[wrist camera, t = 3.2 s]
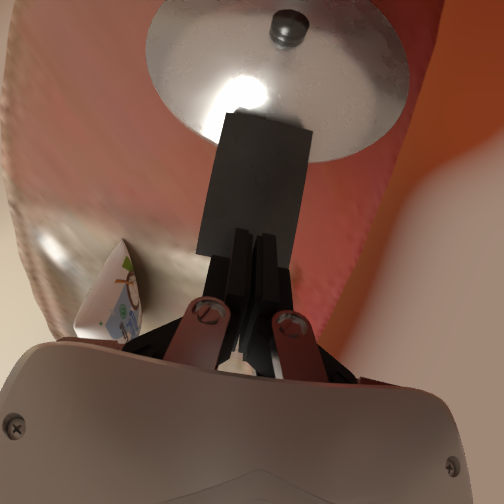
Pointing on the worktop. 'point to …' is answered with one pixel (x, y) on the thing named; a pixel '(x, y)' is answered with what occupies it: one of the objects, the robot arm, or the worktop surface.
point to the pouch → (112, 302)
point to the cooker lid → (274, 99)
